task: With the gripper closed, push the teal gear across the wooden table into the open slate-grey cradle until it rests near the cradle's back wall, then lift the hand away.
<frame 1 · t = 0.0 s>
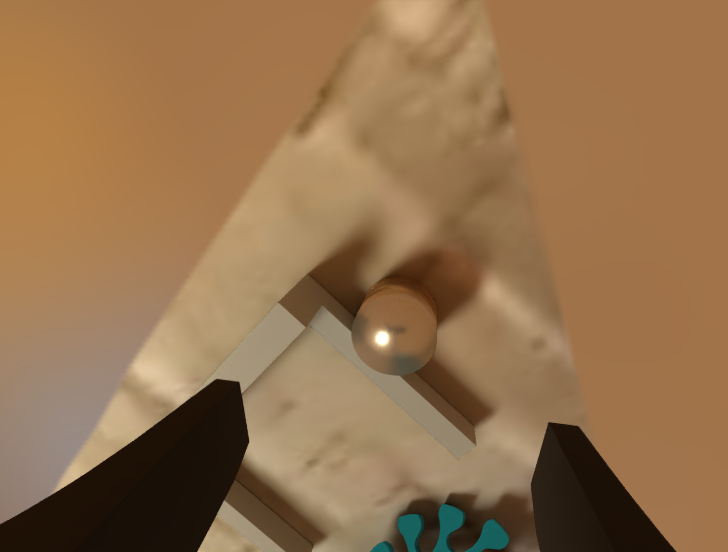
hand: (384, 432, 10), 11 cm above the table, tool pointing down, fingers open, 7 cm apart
cradle: (307, 434, 23), on the table
bushing: (399, 310, 20), on the table
gear: (441, 547, 24), on the table
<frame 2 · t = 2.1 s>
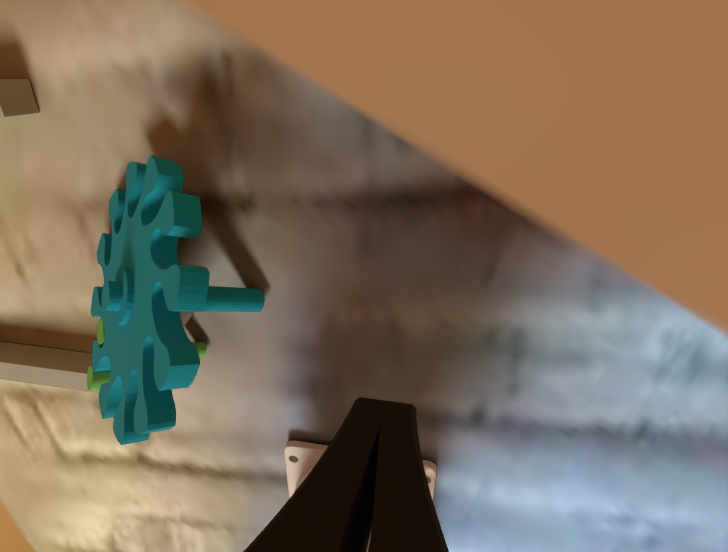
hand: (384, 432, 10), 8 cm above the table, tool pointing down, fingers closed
gear: (192, 261, 19), on the table
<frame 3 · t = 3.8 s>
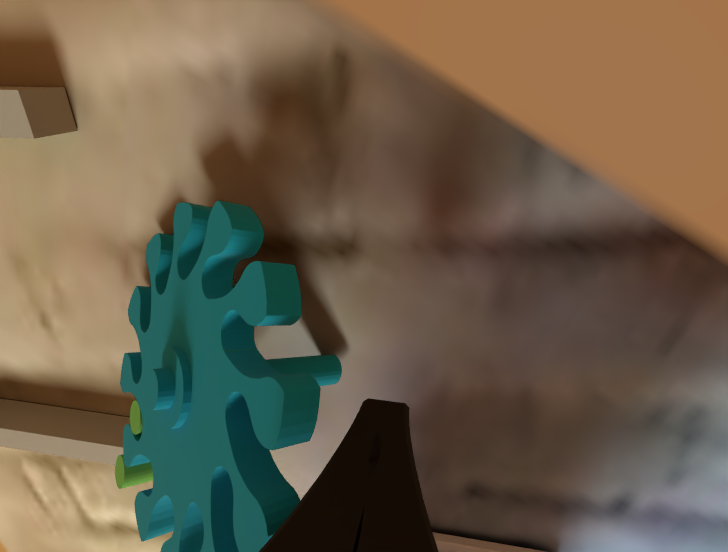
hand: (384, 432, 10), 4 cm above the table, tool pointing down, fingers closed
gear: (247, 318, 15), on the table, touching gripper
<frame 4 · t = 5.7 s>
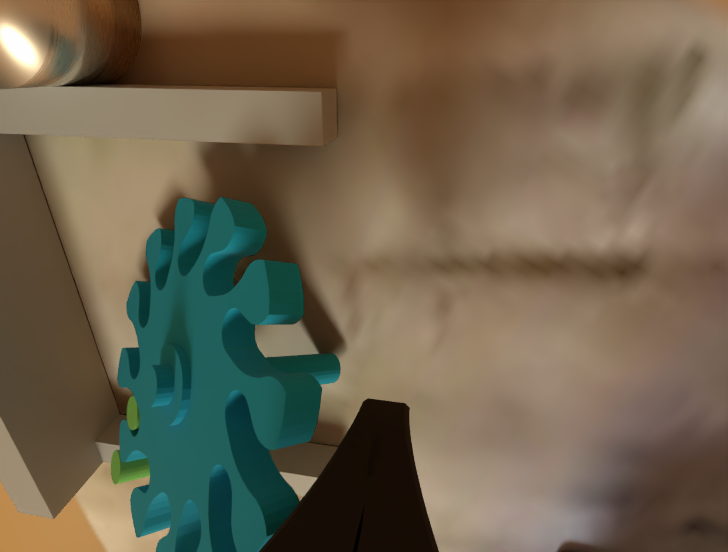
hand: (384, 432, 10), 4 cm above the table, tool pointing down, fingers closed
cradle: (190, 306, 15), on the table
bushing: (79, 9, 11), on the table
gear: (246, 315, 15), on the table, touching gripper
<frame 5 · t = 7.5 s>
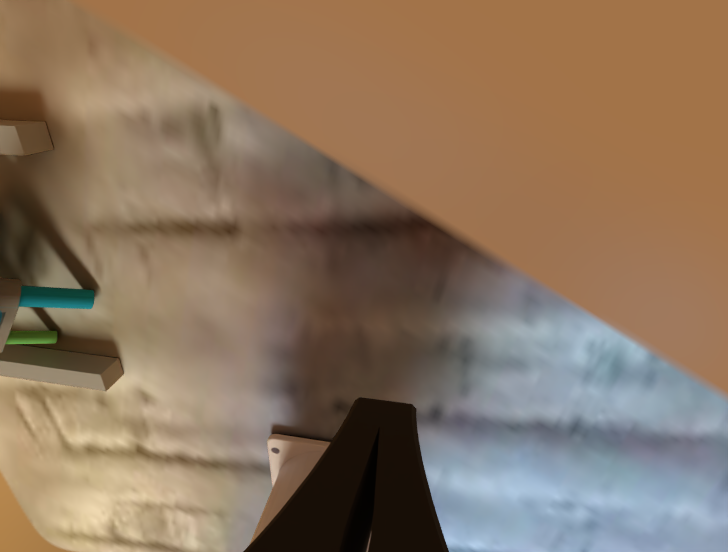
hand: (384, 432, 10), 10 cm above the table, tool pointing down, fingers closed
cradle: (0, 257, 23), on the table
gear: (40, 264, 23), on the table
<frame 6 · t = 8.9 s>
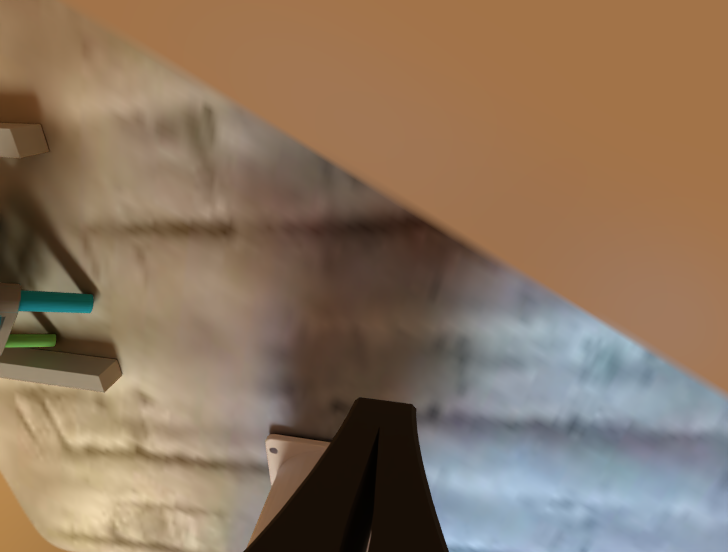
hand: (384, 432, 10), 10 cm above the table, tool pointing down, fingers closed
gear: (39, 268, 23), on the table
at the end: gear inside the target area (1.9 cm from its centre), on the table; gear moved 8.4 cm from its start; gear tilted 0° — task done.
